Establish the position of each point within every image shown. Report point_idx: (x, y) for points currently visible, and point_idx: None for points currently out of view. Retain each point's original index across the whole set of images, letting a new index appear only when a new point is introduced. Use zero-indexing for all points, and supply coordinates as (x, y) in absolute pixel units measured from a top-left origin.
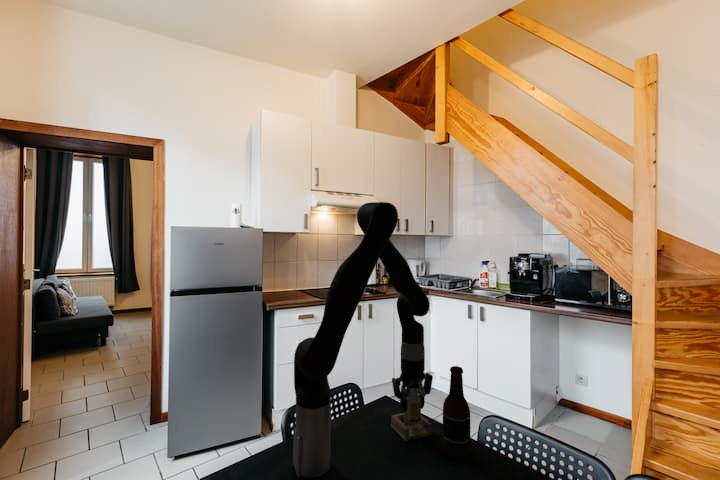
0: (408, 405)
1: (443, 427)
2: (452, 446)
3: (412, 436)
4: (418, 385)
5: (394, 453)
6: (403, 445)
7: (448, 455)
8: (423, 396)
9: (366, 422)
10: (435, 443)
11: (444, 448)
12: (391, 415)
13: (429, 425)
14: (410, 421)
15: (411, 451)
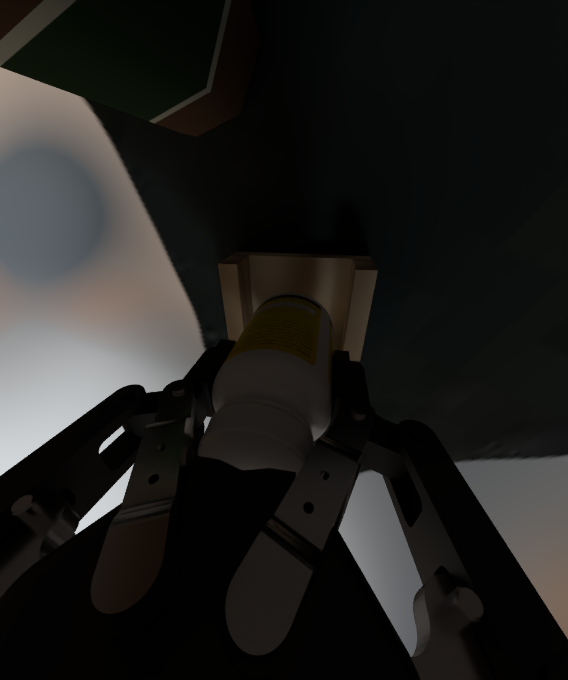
0: (325, 365)
1: (192, 9)
2: None
3: (333, 257)
4: (182, 482)
5: (501, 174)
6: (403, 226)
7: (251, 4)
8: (186, 382)
9: (414, 416)
10: (254, 180)
11: (254, 27)
12: None
13: (234, 262)
14: (321, 307)
15: (407, 156)
